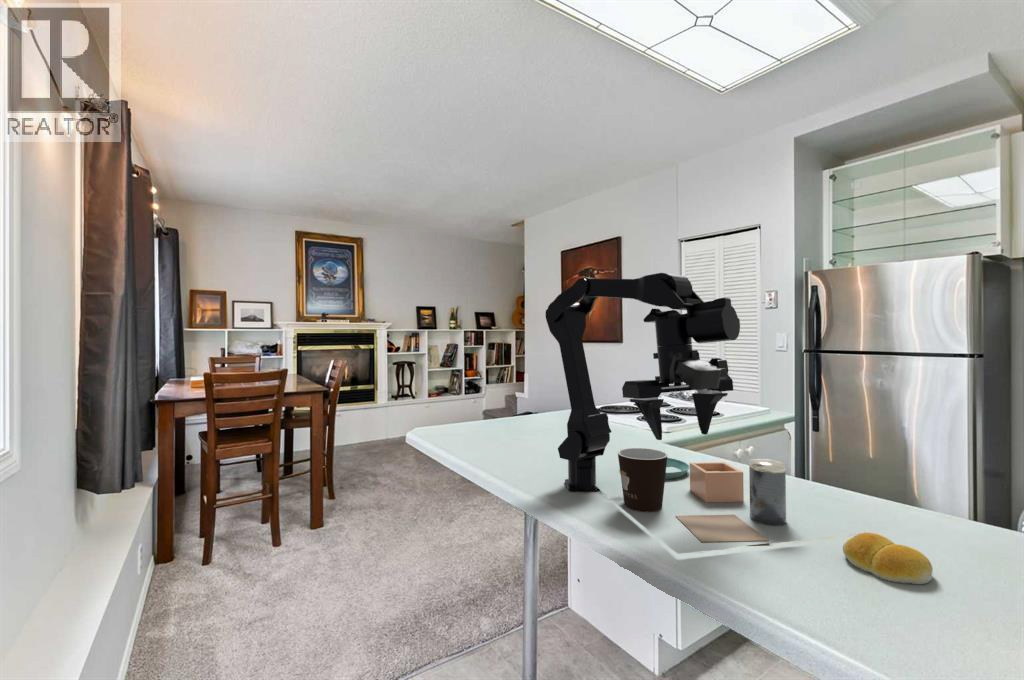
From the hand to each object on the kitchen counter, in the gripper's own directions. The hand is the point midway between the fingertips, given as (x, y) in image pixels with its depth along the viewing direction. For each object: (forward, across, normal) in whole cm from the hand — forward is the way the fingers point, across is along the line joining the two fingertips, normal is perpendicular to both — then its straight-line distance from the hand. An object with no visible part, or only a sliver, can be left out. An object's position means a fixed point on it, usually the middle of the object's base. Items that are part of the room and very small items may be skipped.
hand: (682, 437), depth 78 cm
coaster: (+14, +1, -6) cm, 15 cm away
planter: (+14, +12, +7) cm, 19 cm away
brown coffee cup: (+13, -4, +8) cm, 16 cm away
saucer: (+13, +10, +25) cm, 30 cm away
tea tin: (+15, +11, -6) cm, 19 cm away
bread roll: (+16, +14, -22) cm, 30 cm away
